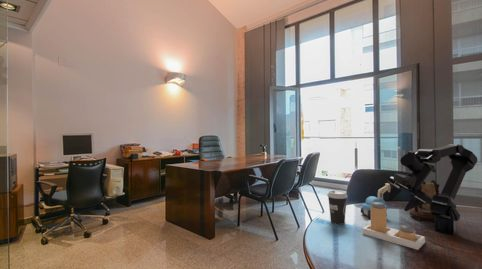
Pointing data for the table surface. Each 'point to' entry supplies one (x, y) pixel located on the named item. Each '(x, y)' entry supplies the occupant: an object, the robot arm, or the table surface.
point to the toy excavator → (375, 200)
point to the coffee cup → (337, 206)
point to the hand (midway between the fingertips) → (396, 205)
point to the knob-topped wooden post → (378, 217)
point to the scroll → (423, 209)
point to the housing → (394, 237)
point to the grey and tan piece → (407, 232)
